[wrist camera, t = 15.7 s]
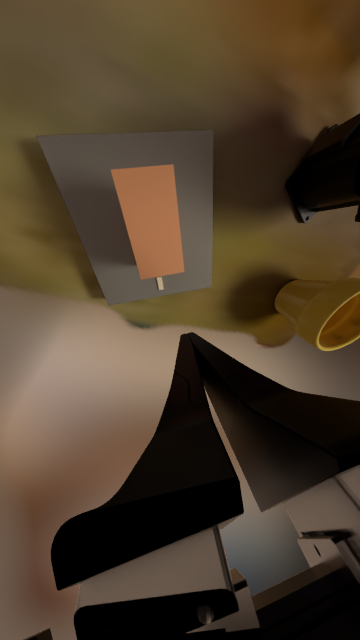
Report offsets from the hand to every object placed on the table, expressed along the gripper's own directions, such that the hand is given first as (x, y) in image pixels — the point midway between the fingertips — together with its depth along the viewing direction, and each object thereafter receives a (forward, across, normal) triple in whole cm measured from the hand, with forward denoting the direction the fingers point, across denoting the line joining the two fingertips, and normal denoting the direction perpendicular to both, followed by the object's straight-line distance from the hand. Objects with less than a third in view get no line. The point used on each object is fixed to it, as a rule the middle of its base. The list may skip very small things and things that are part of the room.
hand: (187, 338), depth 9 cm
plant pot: (+13, -23, +6) cm, 28 cm away
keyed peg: (+13, +1, -6) cm, 15 cm away
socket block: (+13, +1, -6) cm, 14 cm away
